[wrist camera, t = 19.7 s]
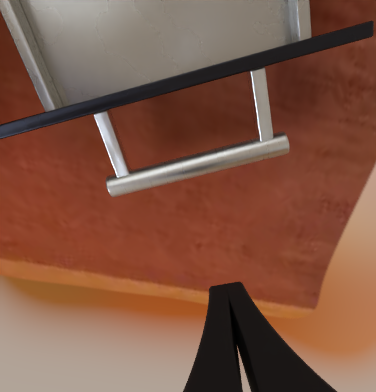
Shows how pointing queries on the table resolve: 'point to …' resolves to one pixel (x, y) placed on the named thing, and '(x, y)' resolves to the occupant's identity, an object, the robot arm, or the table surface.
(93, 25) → the drawer
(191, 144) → the table surface
